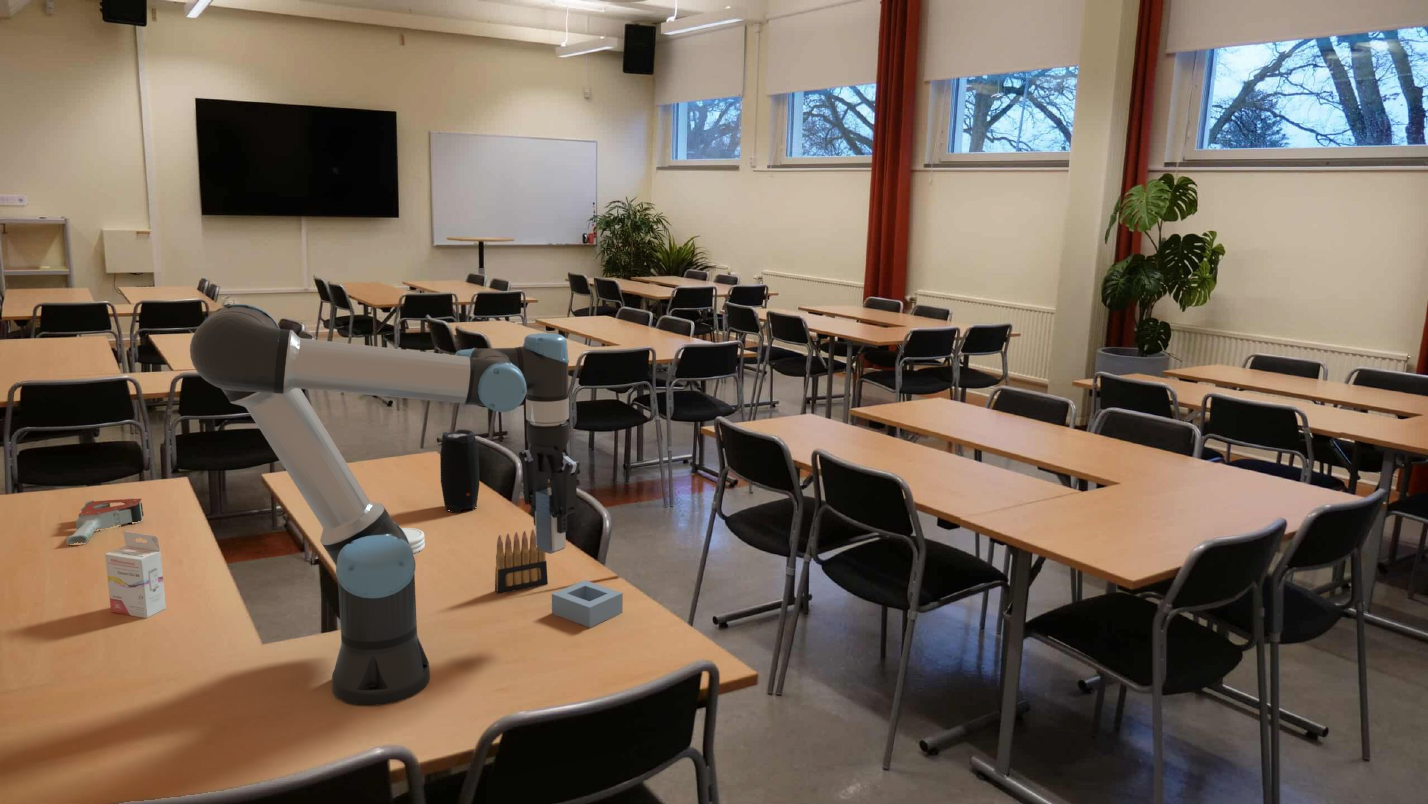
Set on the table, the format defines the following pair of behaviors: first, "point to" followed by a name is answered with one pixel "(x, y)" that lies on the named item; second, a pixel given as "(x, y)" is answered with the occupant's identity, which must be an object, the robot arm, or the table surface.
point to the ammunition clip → (519, 565)
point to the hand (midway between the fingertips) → (550, 545)
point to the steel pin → (544, 520)
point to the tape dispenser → (104, 517)
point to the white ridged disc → (415, 539)
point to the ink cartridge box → (136, 577)
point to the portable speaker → (459, 470)
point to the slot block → (587, 603)
